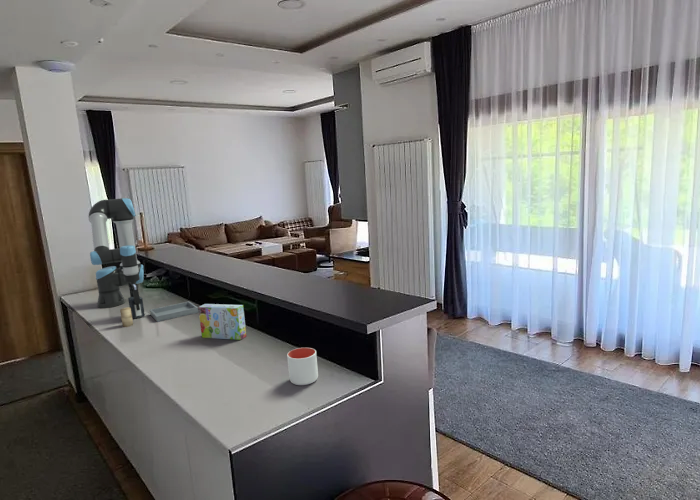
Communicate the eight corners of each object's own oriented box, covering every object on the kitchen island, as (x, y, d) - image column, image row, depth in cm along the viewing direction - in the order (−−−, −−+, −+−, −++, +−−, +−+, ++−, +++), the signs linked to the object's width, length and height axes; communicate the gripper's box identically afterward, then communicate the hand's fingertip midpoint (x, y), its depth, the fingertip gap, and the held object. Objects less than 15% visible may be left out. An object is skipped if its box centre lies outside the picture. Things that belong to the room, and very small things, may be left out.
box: (145, 316, 247) (142, 297, 245) (134, 318, 244) (131, 300, 242) (141, 313, 253) (138, 295, 251) (130, 315, 250) (127, 297, 248)
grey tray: (150, 314, 250) (149, 309, 250) (189, 306, 262) (189, 301, 262) (157, 322, 236) (156, 316, 235) (198, 312, 248) (197, 307, 247)
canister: (122, 325, 234) (119, 308, 233) (132, 323, 237) (129, 306, 236) (123, 327, 230) (120, 310, 229) (134, 325, 233) (131, 308, 231)
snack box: (247, 336, 205) (243, 304, 202) (240, 340, 199) (236, 308, 197) (208, 333, 212) (204, 303, 209) (201, 338, 206) (196, 306, 204)
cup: (290, 375, 161) (287, 348, 159) (318, 372, 161) (315, 346, 160) (289, 388, 151) (286, 360, 149) (318, 385, 152) (316, 357, 150)
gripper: (120, 272, 250) (127, 311, 254) (126, 278, 233) (133, 319, 237) (135, 269, 255) (141, 308, 259) (142, 275, 238) (148, 316, 242)
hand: (137, 313), depth 248 cm, fingers closed on box, 8 cm apart
